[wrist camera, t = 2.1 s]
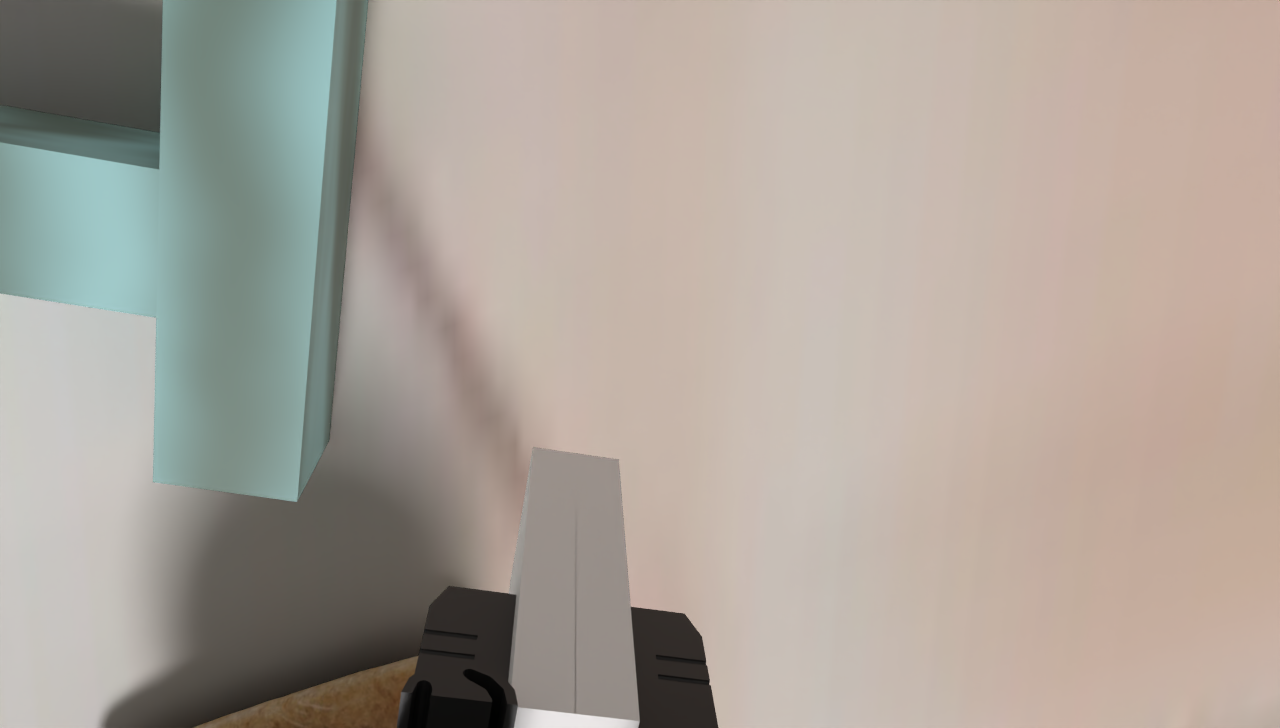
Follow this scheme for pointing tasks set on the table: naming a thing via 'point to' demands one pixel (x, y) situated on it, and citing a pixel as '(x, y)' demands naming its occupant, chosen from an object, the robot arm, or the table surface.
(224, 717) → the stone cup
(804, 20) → the table surface
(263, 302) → the t block
